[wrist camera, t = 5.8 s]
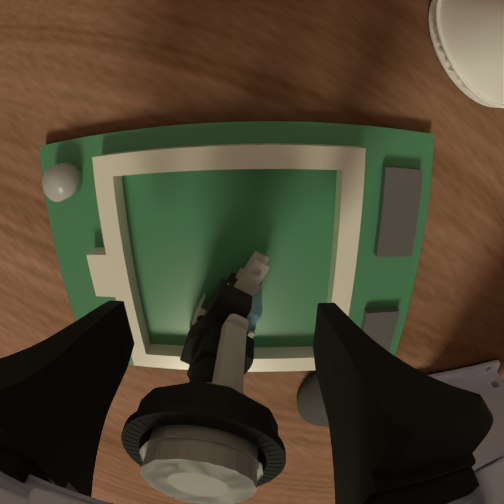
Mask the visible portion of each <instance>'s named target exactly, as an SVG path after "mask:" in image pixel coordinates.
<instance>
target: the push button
mask: <svg viewBox="0 0 504 504" xmlns="http://www.w3.org/2000/svg"><path fill="white" fill-rule="evenodd" d="M257 259H258V260H257ZM259 260H260V261H259ZM268 261H269V258H268V257H267V256H265V255H263V254H261V253H259V252H257V251H255V252H254V253H253V255H252V256H251V258H250V260H249V261H248V263H247V264H246V266H245V268H244V269H243V268H240V270H239V272H238V273H237V275H236V274H234V273H232V272H231V274H230V275H229V277H228V278H227V280H225V279H222V280H221V281H220V283H219V284H218V286H217V288H216V290H215V293H214V295H213V298H212V300H211V303H210V305H209V307H208V309H207V310H205V309H203V308H202V306H203V302H204V299H205V296H206V295H205V294H204V295H203V297H202V299H201V300H200V302H199V304H198V306H197V308H196V311H195V314H194V317H193V321H192V326H191V328H190V330H189V332H188V335H187V338H186V341H185V345H184V348H183V351H182V354H181V357H180V361H182V362H185V363H187V364H189V369H188V373H187V376H188V377H189V379H190V381H189V383H185V384H178V385H172V386H165V387H158V388H155V389H153V390H152V391H151V392H150V393H149V394H147V395H146V396H145V397H144V398H143V399H142V400H141V402H140V405H139V408H138V410H137V411H136V412H135V413H133V414H132V415H131V416H130V417H129V418H128V419H127V421H126V423H125V426H124V428H123V431H122V436H121V439H122V443H123V446H124V448H125V450H126V452H127V453H128V454H129V456H130V457H131V458H132V459H133V460H134V461H135V462H136V463H138V464H139V465H140V466H141V467H142V477H143V478H144V479H145V480H146V481H147V482H148V483H149V484H150V485H151V486H152V487H153V488H155V489H156V490H158V491H161V492H163V493H165V494H167V495H168V496H171V497H175V498H177V499H180V500H185V501H188V502H193V503H200V504H234V503H237V502H240V501H244V500H247V499H250V498H251V496H252V495H253V494H254V493H255V492H256V491H257V486H260V485H262V484H265V483H267V482H269V481H271V480H272V479H274V478H275V477H277V476H278V475H279V474H280V473H281V472H282V470H283V468H284V466H285V463H286V454H285V447H284V444H283V442H282V440H281V439H280V438H279V436H278V425H277V423H276V421H275V419H274V417H273V415H272V413H271V411H270V410H269V409H268V408H267V407H265V406H263V405H261V404H260V403H258V402H256V401H254V400H252V399H251V398H249V397H247V396H245V395H244V393H243V378H244V374H245V373H246V372H247V371H248V370H249V369H250V367H251V366H252V363H253V360H254V340H255V339H253V336H254V335H255V334H256V333H255V331H256V324H257V322H258V321H259V319H260V317H261V315H262V311H263V307H262V287H261V286H259V284H260V283H261V281H262V279H263V278H264V276H265V275H266V273H267V272H268V270H269V266H268V265H267V262H268ZM260 273H261V274H260Z"/></svg>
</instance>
